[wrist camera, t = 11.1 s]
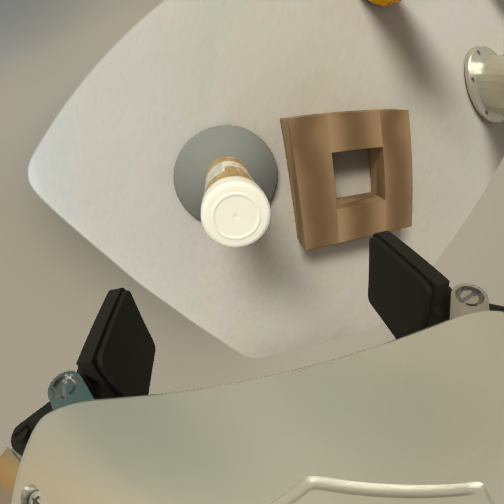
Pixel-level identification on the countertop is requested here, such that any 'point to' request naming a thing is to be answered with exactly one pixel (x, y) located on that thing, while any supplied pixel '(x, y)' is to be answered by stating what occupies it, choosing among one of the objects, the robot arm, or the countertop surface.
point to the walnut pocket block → (323, 183)
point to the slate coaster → (212, 148)
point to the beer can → (384, 2)
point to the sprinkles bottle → (233, 204)
